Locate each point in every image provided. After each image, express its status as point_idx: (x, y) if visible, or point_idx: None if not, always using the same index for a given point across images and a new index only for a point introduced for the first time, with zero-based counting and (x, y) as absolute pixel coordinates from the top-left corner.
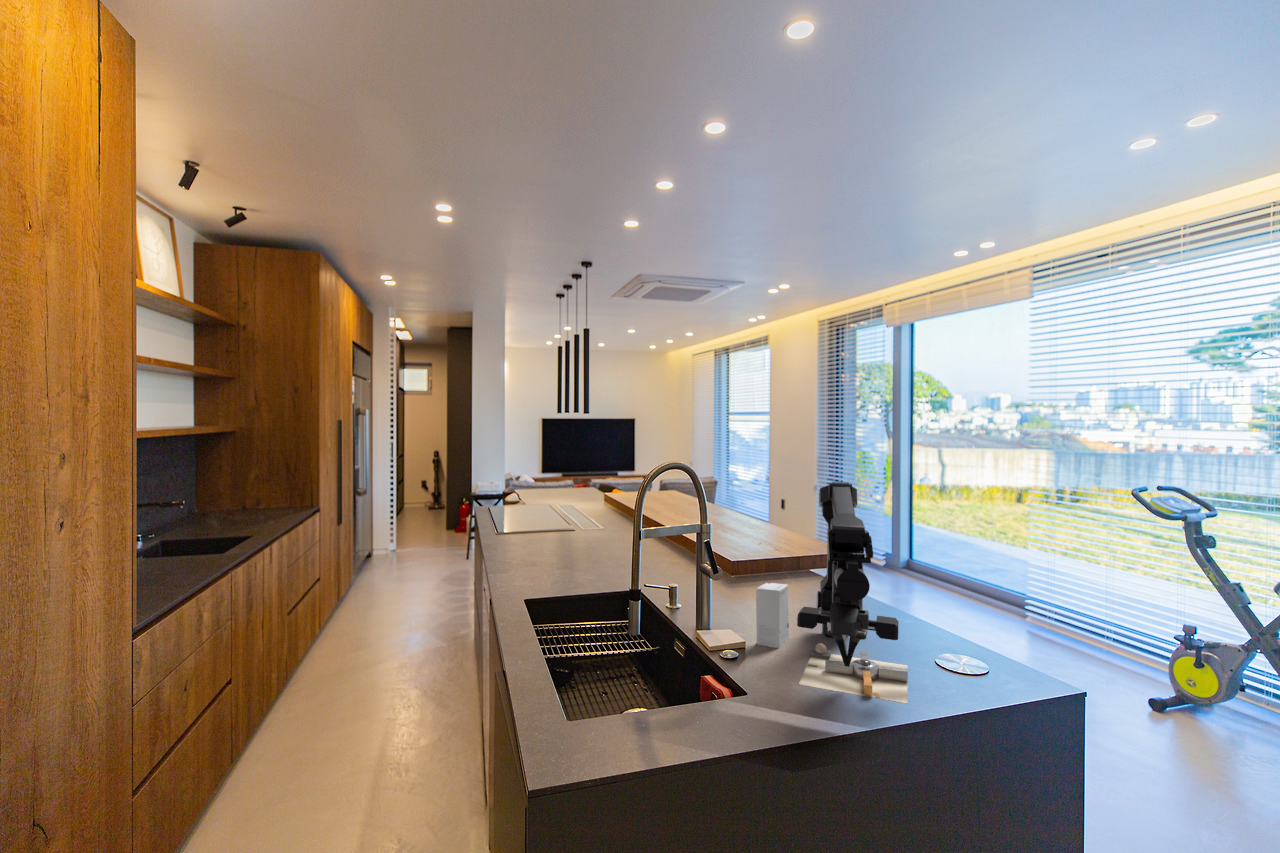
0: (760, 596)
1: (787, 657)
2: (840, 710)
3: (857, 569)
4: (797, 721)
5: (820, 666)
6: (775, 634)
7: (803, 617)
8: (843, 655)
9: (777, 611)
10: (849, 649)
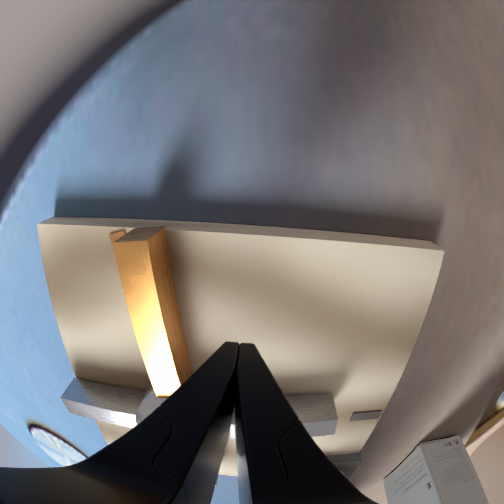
0: None
1: (405, 440)
2: (271, 116)
3: None
4: (407, 3)
5: (341, 420)
6: (440, 475)
7: None
8: (260, 388)
9: None
10: (194, 427)
